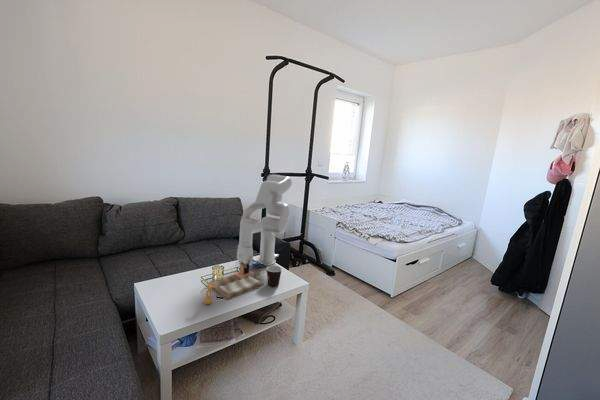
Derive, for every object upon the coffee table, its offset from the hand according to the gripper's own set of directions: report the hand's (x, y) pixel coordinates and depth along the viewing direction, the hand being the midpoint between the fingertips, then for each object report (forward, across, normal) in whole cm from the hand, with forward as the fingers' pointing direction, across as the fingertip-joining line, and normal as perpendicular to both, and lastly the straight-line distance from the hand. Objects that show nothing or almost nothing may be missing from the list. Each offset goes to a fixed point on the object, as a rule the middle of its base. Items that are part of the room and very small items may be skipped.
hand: (244, 271), depth 165 cm
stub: (+2, 0, 0) cm, 2 cm away
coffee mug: (+4, +16, +9) cm, 19 cm away
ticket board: (+4, +5, -9) cm, 11 cm away
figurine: (+4, +12, -30) cm, 32 cm away
